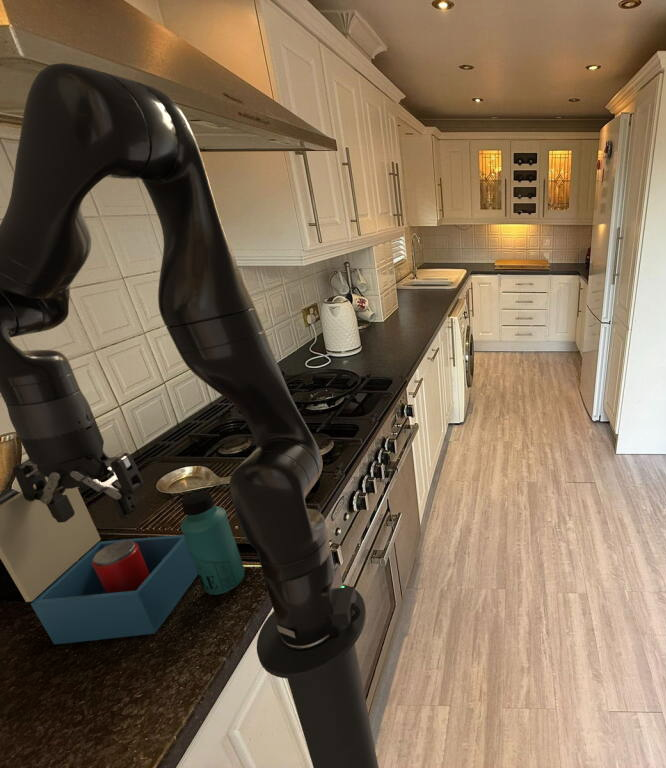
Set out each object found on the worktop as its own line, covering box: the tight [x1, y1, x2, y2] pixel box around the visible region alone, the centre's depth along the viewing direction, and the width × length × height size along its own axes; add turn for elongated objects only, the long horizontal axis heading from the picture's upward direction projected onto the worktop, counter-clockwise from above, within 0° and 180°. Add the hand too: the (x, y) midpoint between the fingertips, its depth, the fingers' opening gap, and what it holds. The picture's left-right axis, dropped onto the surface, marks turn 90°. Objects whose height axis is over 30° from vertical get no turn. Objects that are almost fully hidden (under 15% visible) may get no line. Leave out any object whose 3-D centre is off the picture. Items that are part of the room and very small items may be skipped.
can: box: [92, 539, 150, 593], centre depth 68 cm, size 6×6×11 cm
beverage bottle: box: [180, 490, 246, 596], centre depth 70 cm, size 6×7×20 cm
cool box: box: [30, 534, 199, 645], centre depth 69 cm, size 14×13×9 cm
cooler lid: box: [0, 476, 102, 603], centre depth 63 cm, size 15×13×6 cm
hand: (98, 516), depth 64 cm, fingers open, 8 cm apart
